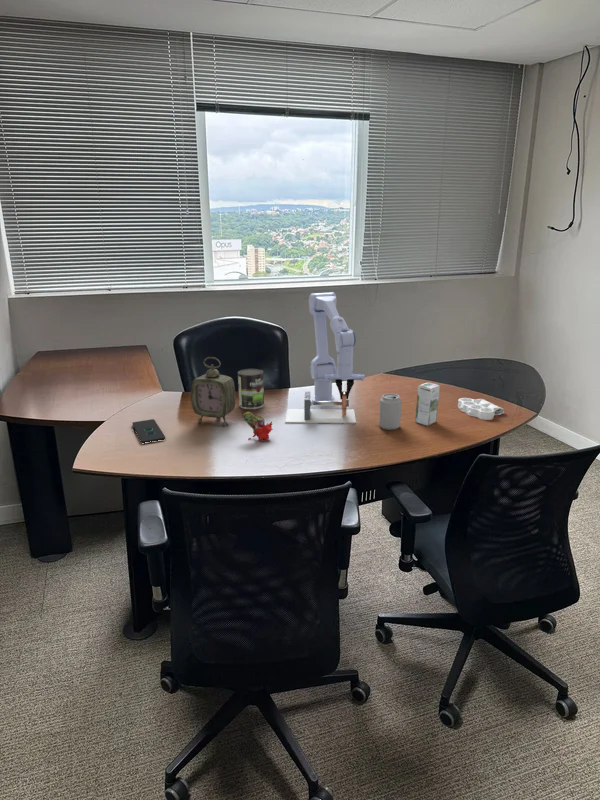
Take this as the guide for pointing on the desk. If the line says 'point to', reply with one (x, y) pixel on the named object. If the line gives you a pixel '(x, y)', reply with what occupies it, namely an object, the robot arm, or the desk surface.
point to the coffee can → (251, 388)
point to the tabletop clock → (213, 394)
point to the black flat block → (148, 431)
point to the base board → (321, 416)
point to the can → (390, 411)
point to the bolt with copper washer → (334, 402)
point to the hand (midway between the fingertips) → (344, 398)
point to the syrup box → (427, 403)
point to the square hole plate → (307, 406)
